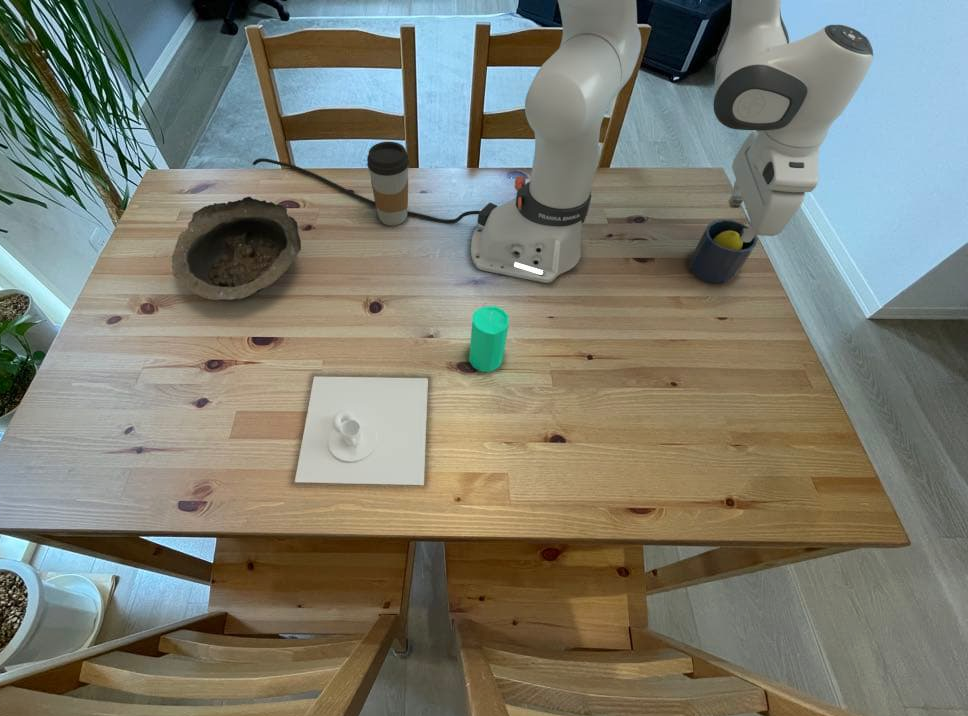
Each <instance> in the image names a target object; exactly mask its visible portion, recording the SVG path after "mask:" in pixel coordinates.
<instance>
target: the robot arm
mask: <svg viewBox="0 0 968 716" xmlns="http://www.w3.org/2000/svg"><path fill="white" fill-rule="evenodd" d="M557 3H558V8H559V13H560V19H561V24H562V25H561V26H562V36H561V42H560V45H559V48H558V49H557V50H556V51H555V52H554V53H553V54H552V55H550V57H549V58H548V59H546V60H545V62H544V63H542V64H541V66H540V68H539V70H537V72H536V74H535V76H534V78H533V80H532V82H531V84H530V85H529V87H528V90H527V92H526V95H525V99H524V100H525V101H524V112H525V117H526V121H527V123H528V124H529V126H530V128H531V130H532V131H533V132H534V154H533V159H532V167H531V171H530V172H531V173H530V179H529V181H528V182H527V183H526V178H525V177H524V176H522V175H520V176H517V177H516V178H514V179H515V180H514V189H515V190H516V195H515V198H513V199H511V200H509V201H507V202H505V203H503V204H501V205H497V204H494V203H492V202H488V204H486V205H485V206H484V207H483V208H482V209H481V210H469V211H465V212H462V213H461V214H460V215H459V216H457V217H455V218H453V219H452V218H451V219H443V218H437V217H433V216H430V215H427V214H423V213H419V212H414V211H409V210H407V216H412V217H416V218H420V219H425V220H429V221H432V222H436V223H442V224H456V223H458V222H460V221H461V220H462V219H463V218H464V217H467V216H471V215H477V224H478V225H477V227H476V228H475V229H474V232H473V234H472V238H471V243H470V256H471V260H472V262H473V265H474V266H475V268H477V269H478V270H480V271H483V272H488V273H489V272H490V273H493V274H499V275H504V276H509V277H512V278H513V277H514V278H518V279H524V280H529V281H533V282H539V283H542V284H543V283H544V284H550V283H552V282H553V281H554V280H556V278H557V277H558V276H560V275H562V274H564V273H566V272H568V271H570V270H572V269H573V268H574V267H576V265H577V264H578V263H579V261H580V259H581V256H582V249H581V237H582V232H583V231H582V230H583V224H584V223H585V220H586V218H587V216H588V213H589V210H590V207H591V202H592V188H593V184H594V181H595V177H596V174H597V170H598V167H599V164H600V161H601V157H602V151H601V150H602V149H601V147H600V133H601V127H602V123H603V120H604V118H605V115H606V114H607V111H608V109H609V107H610V105H611V103H612V102H613V100H614V99H615V98H616V97H617V95H618V94H619V93H620V92H621V90H622V89H623V88H624V87H625V85H626V84H627V83H628V81H630V80H631V78H632V75H633V73H634V71H635V68H636V66H637V64H638V61H639V57H640V55H641V54H640V53H641V51H642V50H641V49H642V36H641V31H640V28H639V26H638V7H637V0H557ZM781 5H782V0H731V9H730V11H731V12H730V19H729V24H728V27H727V29H726V32H725V33H724V37H723V38H722V41H721V42H720V45H719V47H718V49H717V52H716V54H715V58H714V64H713V70H714V86H713V87H714V89H713V113H714V115H715V118H716V120H717V121H718V122H719V123H720V124H721V125H723V126H724V127H727V128H729V129H732V130H737V131H751V133H750V134H748V136H747V137H746V138H745V139H744V141H743V143H742V144H741V146H740V148H739V149H738V151H737V153H736V154H735V156H734V158H733V161H732V165H731V168H732V172H733V175H734V178H735V181H734V183H733V189H732V193H731V195H730V197H729V199H728V202H727V203H728V204H729V208H732V209H733V208H734V209H738V208H740V207H741V205H742V203H743V204H744V207H745V210H746V213H747V216H748V218H749V221H750V222H749V225H748V227H749V228H748V229H746V228H743V229H742V231H741V233H740V234H739V237H740V240H741V242H750V241H751V240H752V239H753V237H754V236H755V235H756V236H763V237H774V236H778V235H780V234H781V233H782V232H783V231H784V230H785V229H786V227H787V226H788V225H789V223H790V222H792V219H793V218H794V217H795V216H796V214H797V212H798V211H799V210H800V209H801V206H802V204H803V202H804V200H805V196H806V193H811V192H813V191H814V190H815V188H816V187H817V186H818V184H819V180H820V179H819V157H820V150H819V149H820V148H821V145H822V144H823V143H824V142H825V140H826V138H827V135H828V132H829V129H830V128H831V126H832V124H833V123H834V122H835V121H836V120H837V119H838V118H839V117H840V116H841V115H842V114H843V113H844V111H845V110H846V108H847V107H848V105H849V104H850V102H851V101H852V99H853V98H854V96H855V94H856V93H857V91H858V89H859V88H860V86H861V84H862V83H863V81H864V79H865V77H866V75H867V73H868V71H869V69H870V67H871V65H872V63H873V59H874V49H873V46H872V44H871V42H870V40H869V39H868V37H867V36H866V35H864V34H863V33H861V32H860V31H859V30H857V29H855V28H853V27H851V26H848V25H843V24H828V25H825V26H824V27H822V28H821V29H820V30H817V32H814V33H812V34H810V35H807V36H806V37H803V38H800V39H798V40H795V41H792V42H790V37H789V33H788V30H787V27H786V25H785V23H784V20H783V18H782V14H781ZM259 163H269V164H273V165H278V166H283V167H287V168H291V169H293V170H297V171H299V172H300V173H304V174H306V175H309V176H311V177H314V178H315V179H318V180H319V181H322V182H324V183H326V184H328V185H330V186H331V187H334V188H336V189H338V190H340V191H341V192H343V193H346V194H348V195H350V196H352V197H354V198H356V199H358V200H360V201H363V202H365V203H368V204H370V205H372V206H375V207H376V204H375V200H372V199H369V198H367V197H364V196H362V195H359V194H357V193H355V192H353V191H352V190H349V189H347V188H345V187H343V186H341V185H339V184H337V183H335V182H333V181H331V180H329V179H327V178H324V177H322V176H321V175H318V174H317V173H315V172H312V171H310V170H307V169H304V168H302V167H300V166H297V165H294V164H292V163H288V162H283V161H279V160H274V159H271V158H263V157H262V158H257V159H254V161H253V162H252V166H256V165H257V164H259Z"/></svg>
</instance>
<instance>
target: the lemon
mask: <svg viewBox="0 0 968 716" xmlns="http://www.w3.org/2000/svg"><path fill="white" fill-rule="evenodd" d="M713 241H714V242H715V243H717V244H719V245H720V246H722V247H724V248H728V249H731V250H741V249H742V246H743V242H741V240H740V237H739V234H738V233H737V232H735V231H724V232H722V233H720V234H718V235H717V236H716V237H715V238H714V239H713Z"/></svg>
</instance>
